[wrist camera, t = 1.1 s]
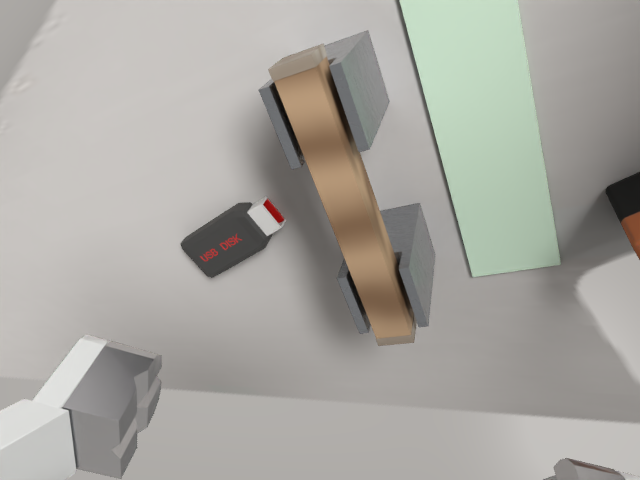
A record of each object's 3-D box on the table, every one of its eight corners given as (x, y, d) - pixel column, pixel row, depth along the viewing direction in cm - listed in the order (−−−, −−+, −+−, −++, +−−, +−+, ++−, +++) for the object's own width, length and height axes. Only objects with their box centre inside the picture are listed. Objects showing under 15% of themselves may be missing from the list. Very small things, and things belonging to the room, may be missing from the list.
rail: (282, 58, 35) (268, 69, 32) (323, 43, 34) (311, 54, 31) (383, 321, 45) (378, 345, 43) (417, 317, 44) (413, 342, 42)
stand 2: (419, 203, 47) (408, 267, 38) (435, 255, 50) (428, 326, 41) (359, 215, 49) (336, 278, 41) (377, 264, 52) (359, 333, 43)
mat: (505, -68, 34) (506, -68, 34) (560, 262, 47) (561, 264, 46) (393, -24, 37) (393, -24, 37) (472, 274, 50) (472, 277, 49)
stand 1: (368, 30, 40) (340, 62, 31) (389, 101, 43) (369, 149, 34) (301, 54, 42) (258, 89, 34) (325, 120, 45) (291, 169, 36)
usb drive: (186, 236, 57) (175, 249, 54) (261, 187, 51) (252, 199, 49) (216, 269, 58) (206, 283, 56) (293, 225, 52) (285, 239, 50)
